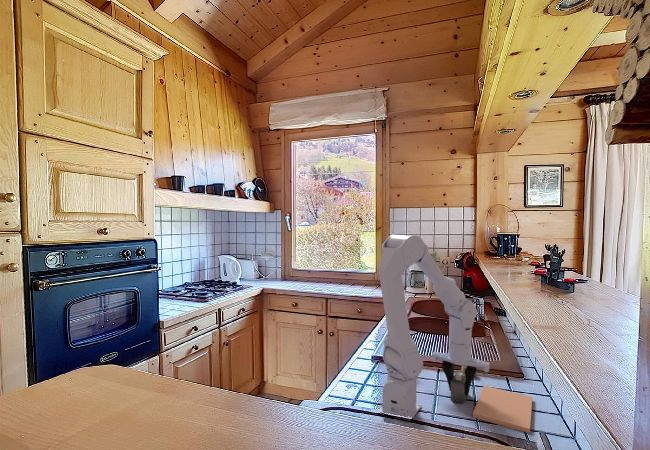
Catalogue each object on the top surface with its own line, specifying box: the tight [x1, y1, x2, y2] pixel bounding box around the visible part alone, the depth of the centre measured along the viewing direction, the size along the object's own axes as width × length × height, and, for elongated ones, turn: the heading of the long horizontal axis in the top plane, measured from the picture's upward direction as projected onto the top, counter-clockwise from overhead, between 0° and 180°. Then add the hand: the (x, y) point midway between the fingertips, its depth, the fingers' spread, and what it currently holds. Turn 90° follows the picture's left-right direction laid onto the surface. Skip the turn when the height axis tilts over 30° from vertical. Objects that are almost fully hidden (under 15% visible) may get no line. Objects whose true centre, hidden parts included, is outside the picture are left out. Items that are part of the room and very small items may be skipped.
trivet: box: [472, 385, 533, 434], centre depth 90 cm, size 18×12×1 cm, turn 148°
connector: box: [450, 371, 468, 405], centre depth 96 cm, size 8×3×6 cm, turn 148°
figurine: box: [460, 366, 478, 377], centre depth 111 cm, size 5×4×6 cm
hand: (459, 391), depth 96 cm, fingers closed on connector, 3 cm apart
